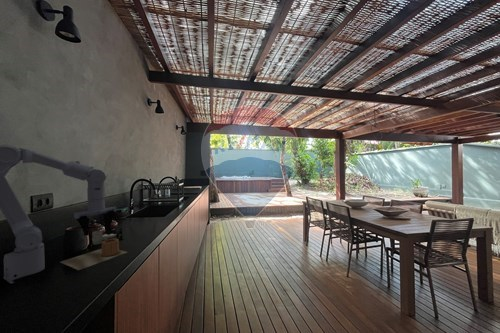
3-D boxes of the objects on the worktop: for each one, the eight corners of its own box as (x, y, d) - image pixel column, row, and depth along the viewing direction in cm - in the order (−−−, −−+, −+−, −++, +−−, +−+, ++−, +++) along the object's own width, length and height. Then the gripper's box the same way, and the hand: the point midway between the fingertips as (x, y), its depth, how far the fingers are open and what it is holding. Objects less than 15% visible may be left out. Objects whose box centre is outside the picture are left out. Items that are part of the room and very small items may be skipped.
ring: (107, 257, 84) (106, 244, 84) (99, 254, 87) (99, 242, 87) (121, 251, 89) (121, 239, 89) (113, 249, 92) (113, 237, 92)
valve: (92, 248, 98) (122, 242, 104) (91, 234, 98) (122, 228, 104) (92, 244, 103) (121, 239, 110) (91, 230, 103) (121, 226, 110)
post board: (78, 273, 74) (78, 256, 74) (59, 264, 81) (59, 249, 81) (127, 254, 89) (127, 241, 89) (107, 248, 96) (107, 236, 96)
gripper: (79, 202, 80) (80, 239, 80) (120, 197, 92) (120, 228, 92) (71, 201, 83) (72, 236, 83) (111, 196, 96) (111, 227, 96)
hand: (97, 232), depth 88 cm, fingers open, 7 cm apart
